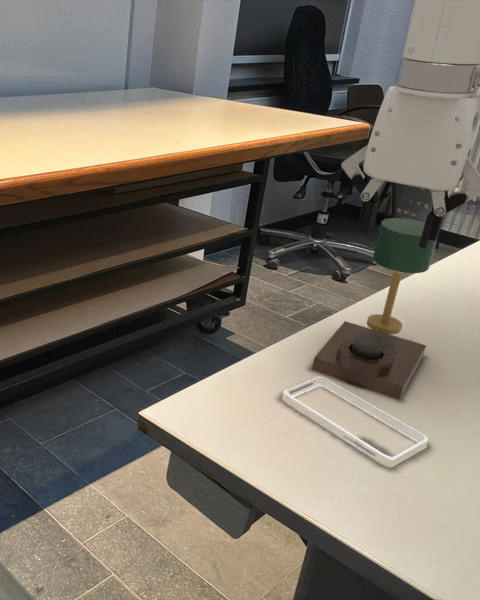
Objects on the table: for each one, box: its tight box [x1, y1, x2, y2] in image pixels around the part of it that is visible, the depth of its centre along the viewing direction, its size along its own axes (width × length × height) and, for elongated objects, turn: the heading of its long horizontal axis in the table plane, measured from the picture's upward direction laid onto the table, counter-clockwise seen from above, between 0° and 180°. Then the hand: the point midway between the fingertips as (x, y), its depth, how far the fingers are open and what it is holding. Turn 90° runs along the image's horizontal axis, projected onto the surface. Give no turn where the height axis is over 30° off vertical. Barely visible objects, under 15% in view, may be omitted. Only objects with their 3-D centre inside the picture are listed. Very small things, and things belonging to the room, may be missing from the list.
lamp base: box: [311, 320, 427, 401], centre depth 90 cm, size 11×14×4 cm
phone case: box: [281, 375, 430, 469], centre depth 79 cm, size 7×1×15 cm
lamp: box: [366, 217, 438, 335], centre depth 89 cm, size 7×7×14 cm
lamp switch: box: [351, 333, 384, 360], centre depth 86 cm, size 4×4×2 cm
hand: (395, 236), depth 79 cm, fingers open, 5 cm apart
